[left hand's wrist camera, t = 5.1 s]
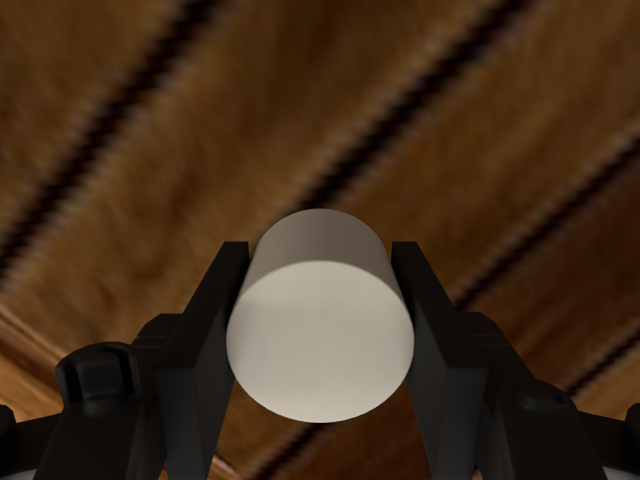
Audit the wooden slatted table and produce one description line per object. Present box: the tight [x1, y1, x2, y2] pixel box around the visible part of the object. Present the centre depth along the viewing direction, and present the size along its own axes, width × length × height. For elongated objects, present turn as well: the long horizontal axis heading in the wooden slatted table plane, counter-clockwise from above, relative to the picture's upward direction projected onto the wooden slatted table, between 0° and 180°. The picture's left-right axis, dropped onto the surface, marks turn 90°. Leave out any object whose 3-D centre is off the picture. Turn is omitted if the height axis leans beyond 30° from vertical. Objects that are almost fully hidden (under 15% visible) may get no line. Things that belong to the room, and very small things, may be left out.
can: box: [226, 209, 415, 423], centre depth 13 cm, size 5×5×4 cm
